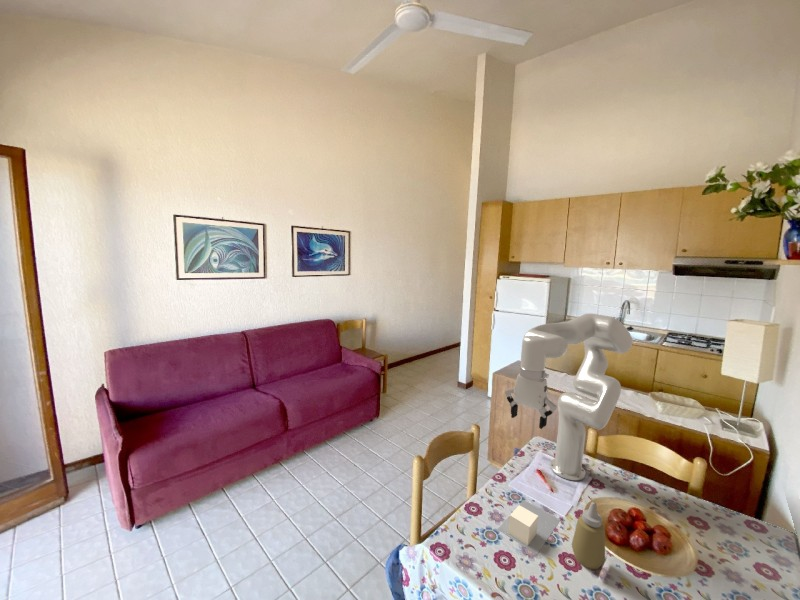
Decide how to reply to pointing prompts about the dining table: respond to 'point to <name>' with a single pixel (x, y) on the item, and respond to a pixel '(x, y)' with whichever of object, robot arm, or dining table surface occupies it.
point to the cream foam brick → (523, 524)
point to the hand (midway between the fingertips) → (527, 421)
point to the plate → (543, 527)
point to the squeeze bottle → (589, 539)
